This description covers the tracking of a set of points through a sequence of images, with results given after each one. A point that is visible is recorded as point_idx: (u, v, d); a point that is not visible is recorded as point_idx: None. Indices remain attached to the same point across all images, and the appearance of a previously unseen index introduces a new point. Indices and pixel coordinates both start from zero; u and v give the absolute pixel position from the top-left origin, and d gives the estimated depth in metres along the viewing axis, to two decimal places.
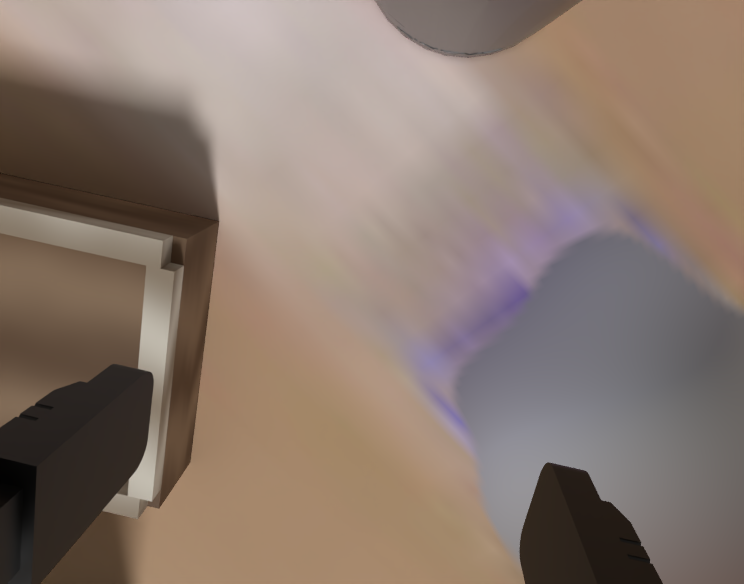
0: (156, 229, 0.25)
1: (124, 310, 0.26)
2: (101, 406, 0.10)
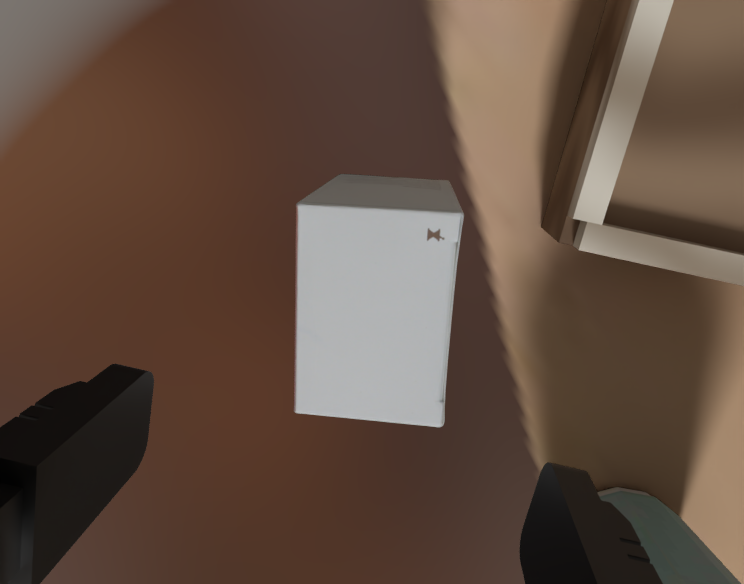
0: None
1: None
2: (101, 406, 0.10)
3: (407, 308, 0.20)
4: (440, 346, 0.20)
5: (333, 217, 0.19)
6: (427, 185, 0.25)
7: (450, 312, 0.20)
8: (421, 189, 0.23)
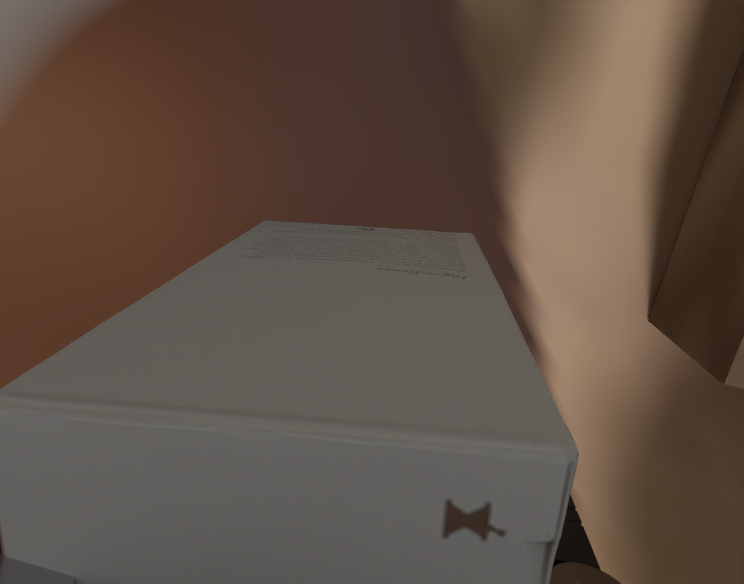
0: None
1: None
2: None
3: None
4: None
5: (107, 455, 0.05)
6: (433, 259, 0.11)
7: None
8: (420, 281, 0.10)
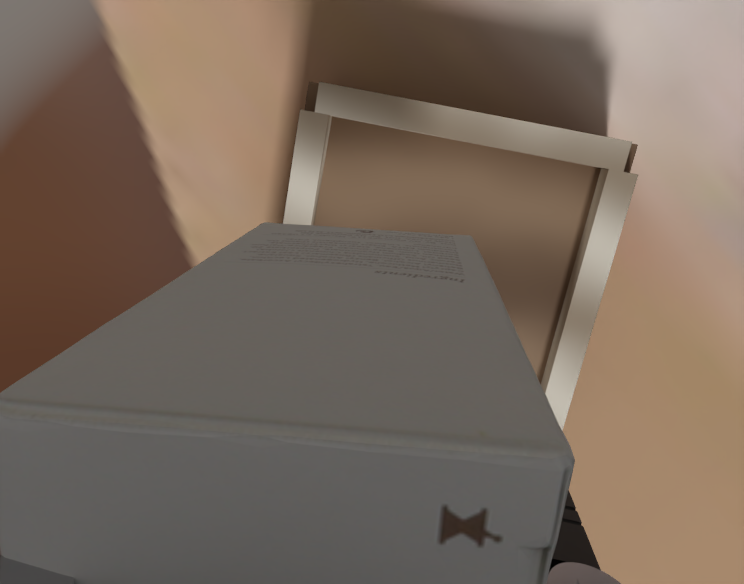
0: None
1: (555, 224, 0.25)
2: None
3: None
4: None
5: (103, 460, 0.05)
6: (432, 262, 0.11)
7: None
8: (418, 284, 0.10)
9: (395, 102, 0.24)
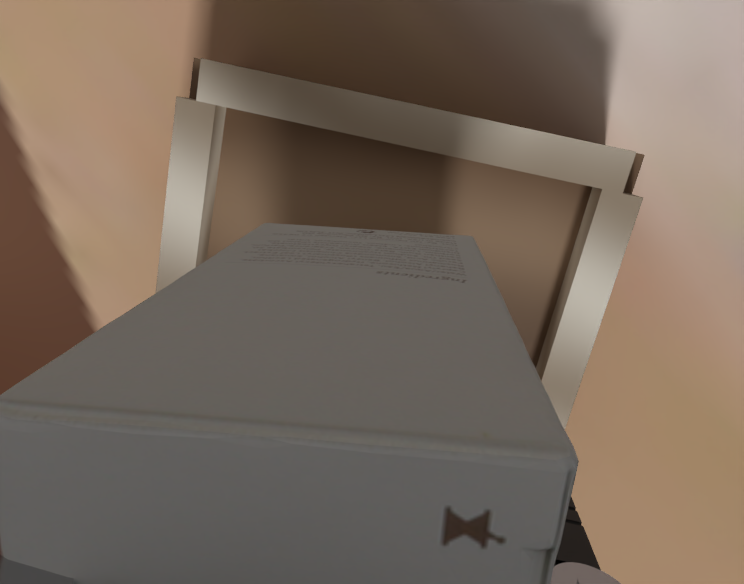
0: None
1: (528, 260, 0.19)
2: None
3: None
4: None
5: (106, 462, 0.05)
6: (433, 262, 0.11)
7: None
8: (420, 284, 0.10)
9: (306, 89, 0.17)
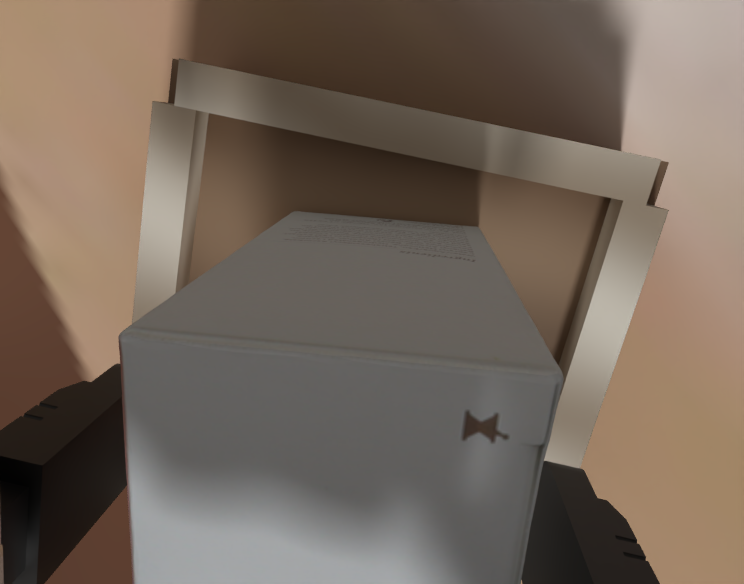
0: None
1: (540, 278, 0.17)
2: (105, 406, 0.10)
3: None
4: None
5: (214, 373, 0.07)
6: (447, 246, 0.13)
7: None
8: (437, 261, 0.12)
9: (295, 92, 0.15)
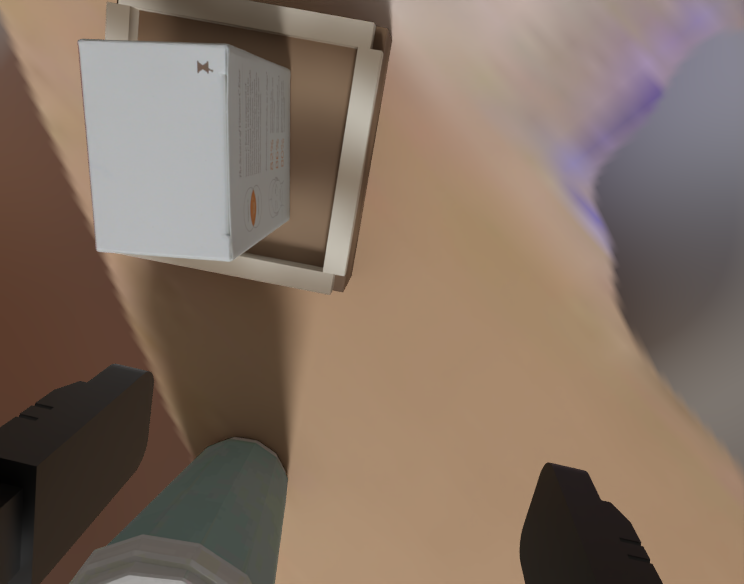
0: None
1: (327, 99, 0.30)
2: (101, 406, 0.10)
3: (186, 141, 0.21)
4: (221, 178, 0.22)
5: (111, 52, 0.21)
6: None
7: (227, 145, 0.21)
8: None
9: None
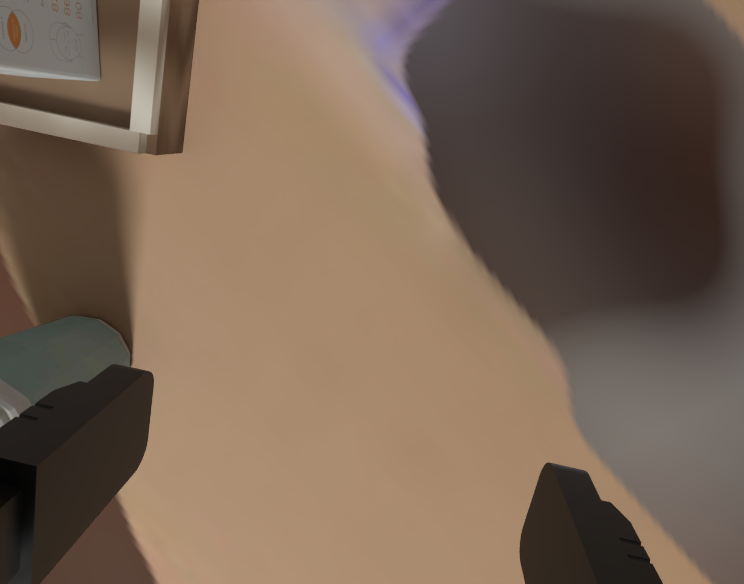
0: None
1: None
2: (101, 406, 0.10)
3: None
4: None
5: None
6: None
7: None
8: None
9: None
